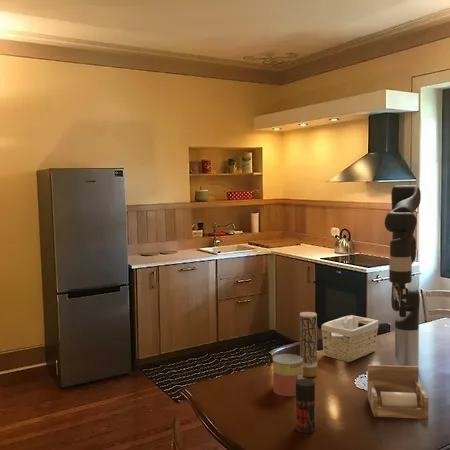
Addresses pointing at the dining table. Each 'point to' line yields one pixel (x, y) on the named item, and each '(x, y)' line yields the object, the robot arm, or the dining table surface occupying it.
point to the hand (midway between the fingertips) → (400, 313)
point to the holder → (396, 390)
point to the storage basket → (349, 337)
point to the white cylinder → (398, 399)
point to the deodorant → (305, 405)
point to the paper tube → (308, 343)
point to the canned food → (286, 373)
